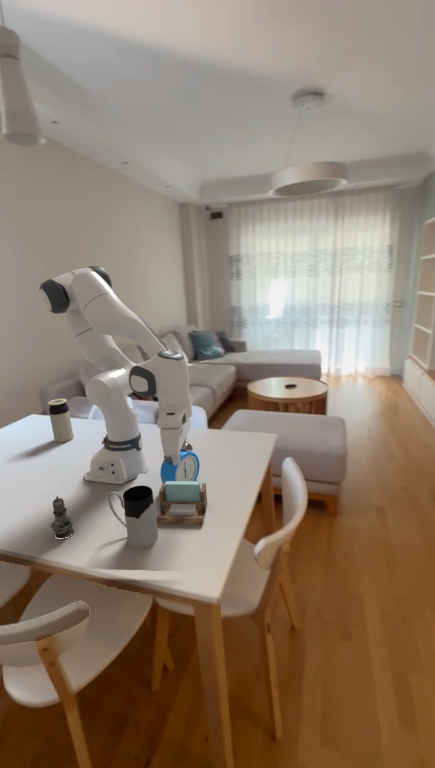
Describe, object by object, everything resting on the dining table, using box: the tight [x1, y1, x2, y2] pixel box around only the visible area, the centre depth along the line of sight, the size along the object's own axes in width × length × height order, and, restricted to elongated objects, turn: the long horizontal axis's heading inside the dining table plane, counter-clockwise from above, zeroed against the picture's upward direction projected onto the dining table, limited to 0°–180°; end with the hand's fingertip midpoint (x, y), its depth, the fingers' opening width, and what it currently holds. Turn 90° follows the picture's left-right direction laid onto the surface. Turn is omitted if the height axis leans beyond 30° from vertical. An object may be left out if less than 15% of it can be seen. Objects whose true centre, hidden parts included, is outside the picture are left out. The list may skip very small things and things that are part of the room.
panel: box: [165, 480, 201, 502], centre depth 111 cm, size 10×2×8 cm, turn 84°
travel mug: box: [47, 398, 74, 443], centre depth 167 cm, size 8×8×18 cm
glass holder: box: [107, 485, 159, 549], centre depth 100 cm, size 9×14×15 cm, turn 66°
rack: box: [156, 482, 208, 525], centre depth 109 cm, size 13×10×8 cm
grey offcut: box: [169, 504, 196, 516], centre depth 107 cm, size 7×3×2 cm, turn 84°
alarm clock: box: [159, 441, 201, 484], centre depth 124 cm, size 13×6×15 cm, turn 143°
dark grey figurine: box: [50, 496, 75, 538], centre depth 104 cm, size 6×6×12 cm
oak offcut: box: [165, 509, 198, 516], centre depth 108 cm, size 9×3×2 cm, turn 84°
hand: (180, 455), depth 107 cm, fingers open, 8 cm apart
